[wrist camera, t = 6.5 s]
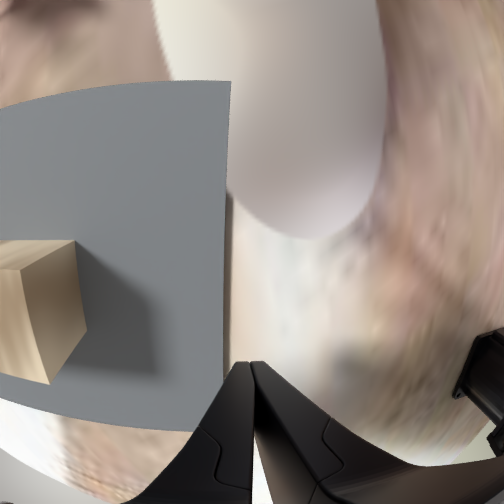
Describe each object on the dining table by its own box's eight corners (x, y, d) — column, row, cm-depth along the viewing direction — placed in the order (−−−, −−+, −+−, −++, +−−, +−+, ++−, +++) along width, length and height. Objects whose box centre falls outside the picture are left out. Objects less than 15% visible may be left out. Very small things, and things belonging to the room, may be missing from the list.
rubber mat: (223, 427, 17) (224, 431, 17) (-27, 384, 15) (-29, 386, 14) (230, 83, 12) (231, 81, 12) (-69, 137, 10) (-72, 137, 9)
